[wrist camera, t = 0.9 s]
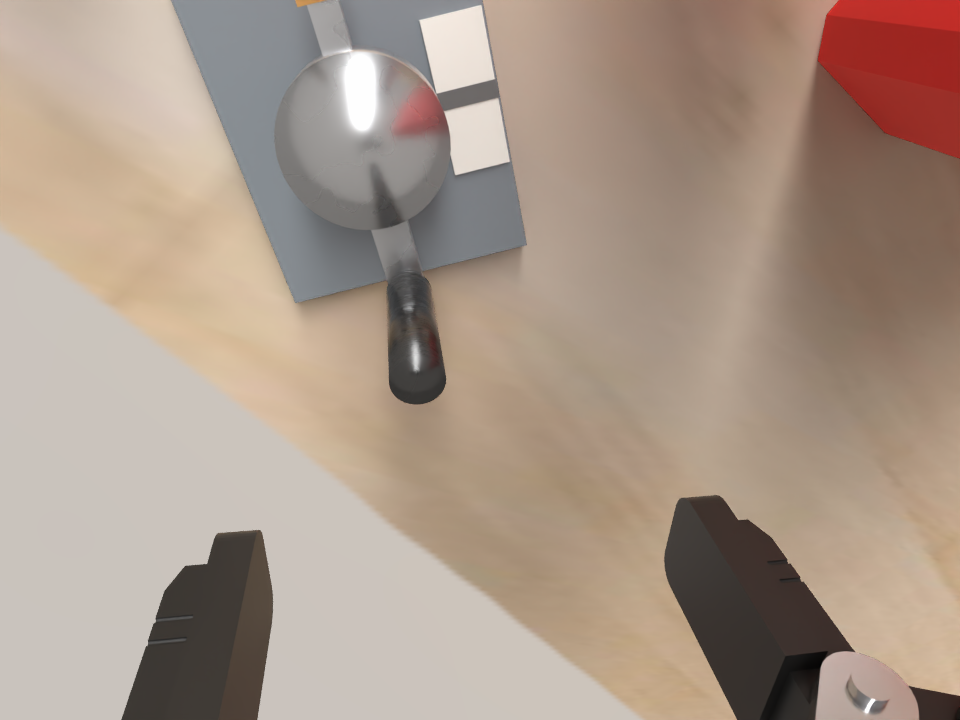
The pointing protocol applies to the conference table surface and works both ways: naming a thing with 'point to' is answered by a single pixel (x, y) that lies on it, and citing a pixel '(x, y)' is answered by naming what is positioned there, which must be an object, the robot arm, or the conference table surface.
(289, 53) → the stand
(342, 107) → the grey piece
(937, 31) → the book
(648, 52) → the conference table surface
